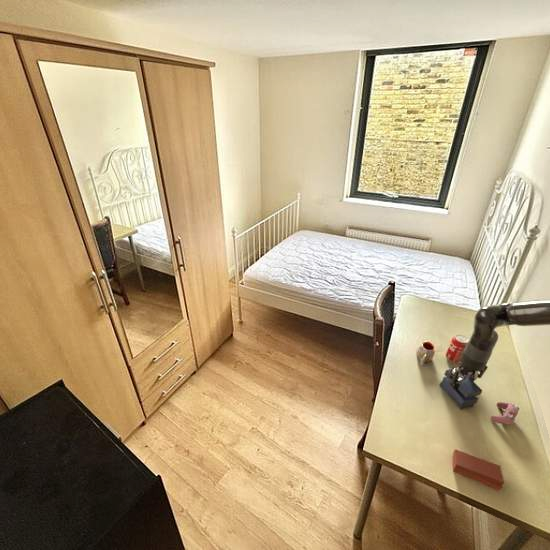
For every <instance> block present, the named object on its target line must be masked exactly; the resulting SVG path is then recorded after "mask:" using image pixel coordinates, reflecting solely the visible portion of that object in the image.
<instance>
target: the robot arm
mask: <svg viewBox="0 0 550 550" xmlns="http://www.w3.org/2000/svg"><path fill="white" fill-rule="evenodd" d="M473 320H474V321H473V332H472V333H471V335H470V338H469V339H468V340H469V341H468V343H467V344H466V347H465V349H464V351H463V353H462V355H461V358H460V360H461V362H460V365H459V366H458V367H454V366H453V367H451V368H450V369H451V371H450V375H449V379H450V380H451V381H452V383H451V385H450V386H451V387H452V388H453V389H454V390H457V387H458V385H459V383H460V382H461V381H462V380H465V379H466V378H467V377H469V378H470V379H471V380H472V381H473V382H474V383H475V381H477V380H478V379H482V377H483V376H484V375H485V372H486V371H487V370H488V368H489V366H488V365H487V364H488V362H489V360H490V358H491V357H492V353H493V350H494V348H495V347H496V345H497V342H498V341H499V334H498V332H497V331H496V328H500V327H507V326H517V327H518V326H519V327H536V326H539V327H541V326H550V299H535V300H534V299H533V300H526V301H519V302H515V303H513V302H511V303H510V302H509V303H499V304H498V303H497V304H493V305H485V306H482V307H480V308H479V309H478V310H477V311H476V313H475V314H474V319H473ZM455 368H457V369H455ZM460 373H461V374H462V375H463V377H462V376H461V375H460ZM458 377H459V380H458V379H457V378H458Z"/></svg>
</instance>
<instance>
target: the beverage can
mask: <svg viewBox="0 0 550 550" xmlns="http://www.w3.org/2000/svg"><path fill="white" fill-rule="evenodd" d="M469 340H470V339H469V338H467V337H466V336H465V335H462V334H456V335H455V336H453V337H452V338H451V341H450V343H449V345H448V348H447V351H446V353H445V357H446V359H447V360H448V361H449V362H451V363H453V364H461V360H460V358H461V355H462V353H463V351H464V349H465V347H466V344H467V343H468V341H469Z"/></svg>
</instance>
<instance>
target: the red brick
mask: <svg viewBox="0 0 550 550" xmlns="http://www.w3.org/2000/svg"><path fill="white" fill-rule="evenodd" d="M452 472H455V473H457V474H459V475H462V476H463V477H465V478H468V479H470V480H472V481H475V482H478V483H480V484H482V485H485V486H486V487H489V488H491V489H494V490H495V491H498V492H501V490H503V485H504V484H505V480H504V476H503V471H502V467H501V465H499V464H496V463H494V462H492V461H488V460H486V459H483V458H481V457H478V456H475V455H472V454H470V453H467V452H464V451H461V450H459V449H456V448H454V450H453V452H452Z"/></svg>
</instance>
